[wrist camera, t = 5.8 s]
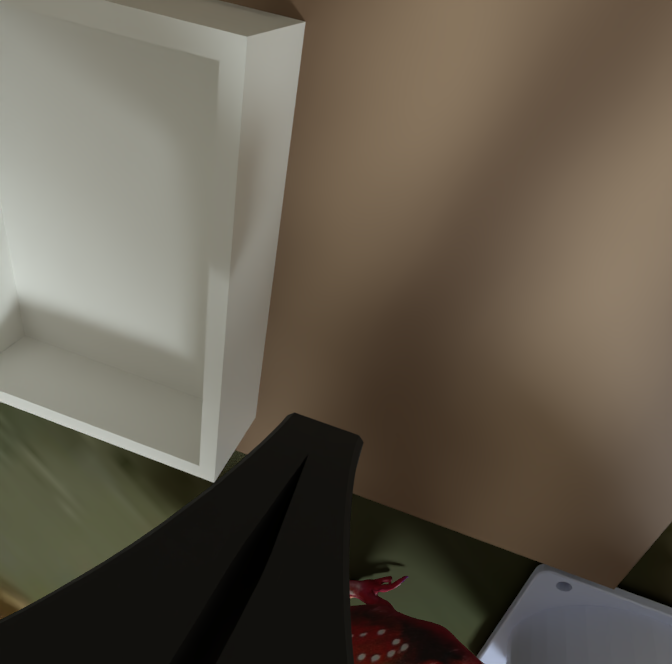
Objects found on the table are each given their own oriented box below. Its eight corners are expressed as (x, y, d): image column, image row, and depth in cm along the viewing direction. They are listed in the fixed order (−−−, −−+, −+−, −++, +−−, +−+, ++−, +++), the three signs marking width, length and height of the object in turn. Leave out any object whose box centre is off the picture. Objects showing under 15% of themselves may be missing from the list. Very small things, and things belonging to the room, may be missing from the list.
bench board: (1014, 50, 10) (1287, 104, 6) (610, 558, 20) (625, 702, 16) (-238, -216, 14) (-518, -278, 10) (-78, 310, 24) (-196, 377, 20)
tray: (305, 21, 12) (247, 36, 10) (255, 417, 19) (214, 482, 17) (-49, -66, 14) (-176, -71, 11) (24, 335, 21) (-44, 384, 18)
